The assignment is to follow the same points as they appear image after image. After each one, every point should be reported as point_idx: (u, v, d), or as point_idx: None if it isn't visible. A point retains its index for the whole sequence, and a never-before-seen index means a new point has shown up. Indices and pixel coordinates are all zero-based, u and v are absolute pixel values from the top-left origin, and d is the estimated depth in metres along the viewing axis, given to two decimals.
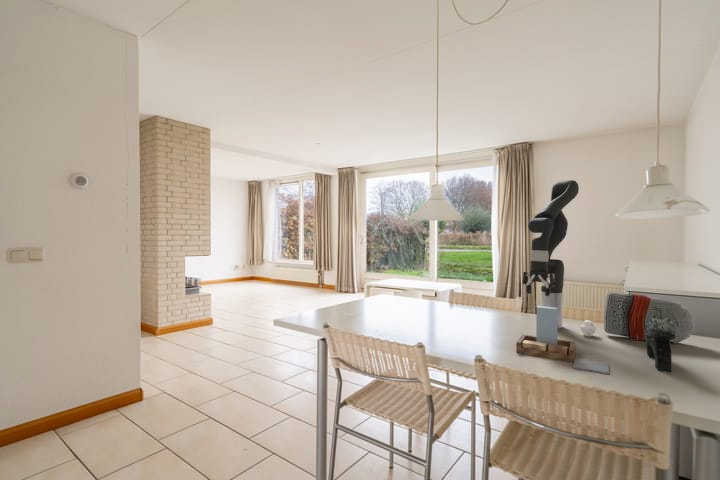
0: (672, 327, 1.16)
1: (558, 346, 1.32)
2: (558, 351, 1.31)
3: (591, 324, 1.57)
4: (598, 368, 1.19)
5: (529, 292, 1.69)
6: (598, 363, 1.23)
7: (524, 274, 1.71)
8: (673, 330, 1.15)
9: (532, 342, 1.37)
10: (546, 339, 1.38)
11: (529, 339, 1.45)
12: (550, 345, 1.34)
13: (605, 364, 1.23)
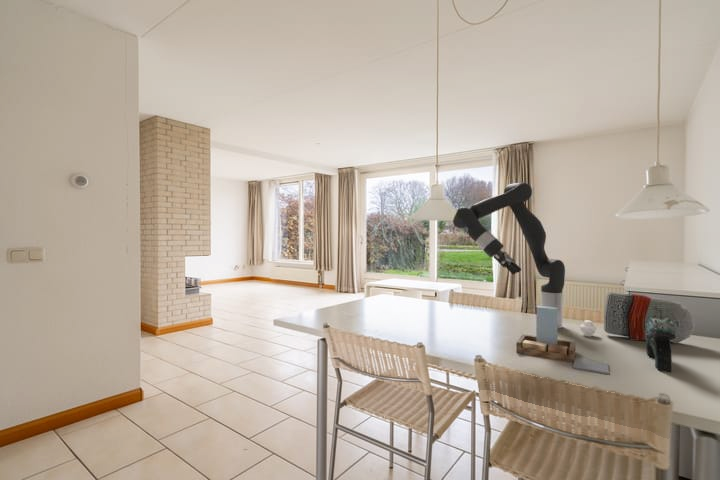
0: (672, 327, 1.16)
1: (558, 346, 1.32)
2: (558, 351, 1.31)
3: (591, 324, 1.57)
4: (598, 368, 1.19)
5: (517, 270, 1.50)
6: (598, 363, 1.23)
7: None
8: (673, 330, 1.15)
9: (532, 342, 1.37)
10: (546, 339, 1.38)
11: (529, 339, 1.45)
12: (550, 345, 1.34)
13: (605, 364, 1.23)
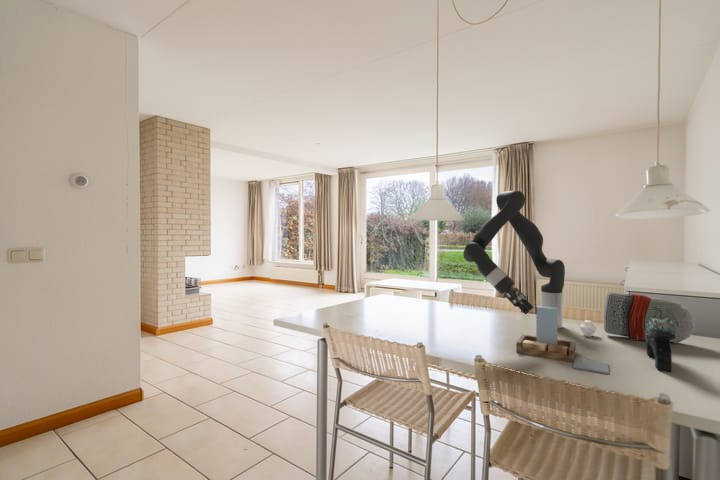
0: (672, 327, 1.16)
1: (558, 346, 1.32)
2: (558, 351, 1.31)
3: (591, 324, 1.57)
4: (598, 368, 1.19)
5: (529, 308, 1.46)
6: (598, 363, 1.23)
7: None
8: (673, 330, 1.15)
9: (532, 342, 1.37)
10: (546, 339, 1.38)
11: (529, 339, 1.45)
12: (550, 345, 1.34)
13: (605, 364, 1.23)
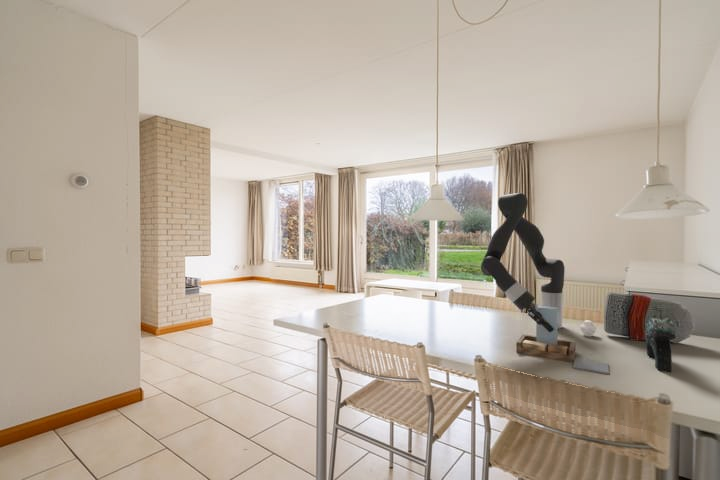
0: (672, 327, 1.16)
1: (558, 346, 1.32)
2: (558, 351, 1.31)
3: (591, 324, 1.57)
4: (598, 368, 1.19)
5: None
6: (598, 363, 1.23)
7: None
8: (673, 330, 1.15)
9: (532, 342, 1.38)
10: (546, 339, 1.38)
11: (529, 339, 1.45)
12: (550, 345, 1.34)
13: (605, 364, 1.23)
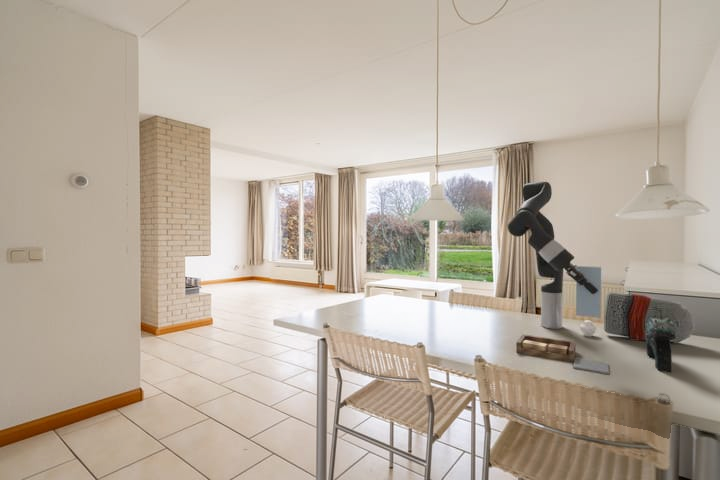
0: (672, 327, 1.16)
1: (558, 346, 1.32)
2: (558, 351, 1.31)
3: (591, 324, 1.57)
4: (598, 368, 1.19)
5: None
6: (598, 363, 1.23)
7: None
8: (673, 330, 1.15)
9: (532, 342, 1.37)
10: (588, 303, 1.21)
11: (529, 339, 1.45)
12: (550, 345, 1.34)
13: (605, 364, 1.23)
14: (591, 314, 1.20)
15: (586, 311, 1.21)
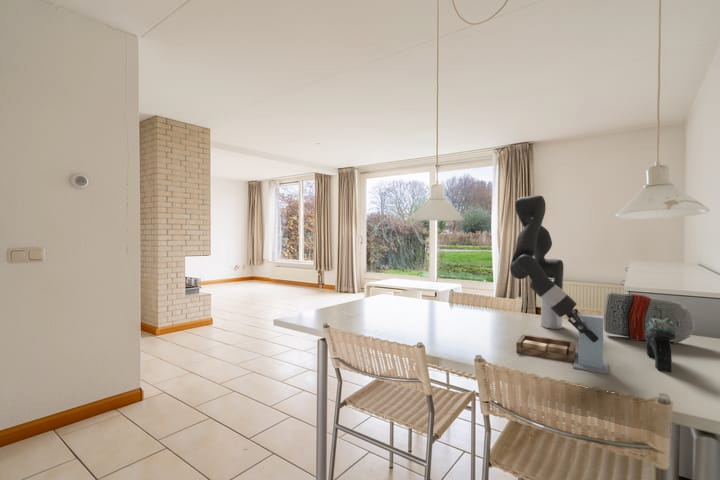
0: (672, 327, 1.16)
1: (558, 346, 1.32)
2: (558, 351, 1.31)
3: None
4: (598, 368, 1.19)
5: None
6: None
7: None
8: (673, 330, 1.15)
9: (533, 342, 1.37)
10: (590, 353, 1.21)
11: (529, 339, 1.45)
12: (550, 345, 1.34)
13: (605, 364, 1.23)
14: (593, 364, 1.20)
15: (588, 361, 1.21)
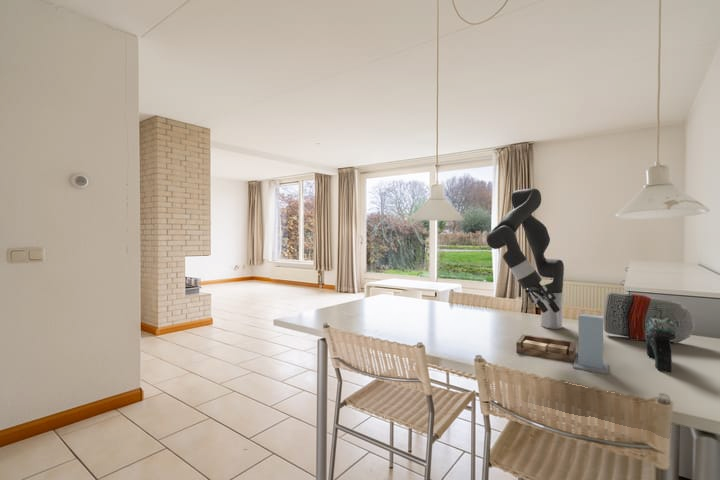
0: (672, 327, 1.16)
1: (558, 346, 1.32)
2: (557, 351, 1.31)
3: None
4: (598, 368, 1.19)
5: (544, 310, 1.35)
6: None
7: (526, 293, 1.39)
8: (673, 330, 1.15)
9: (533, 342, 1.37)
10: (590, 353, 1.21)
11: (529, 339, 1.45)
12: (550, 345, 1.34)
13: (605, 364, 1.23)
14: (593, 364, 1.20)
15: (588, 361, 1.21)
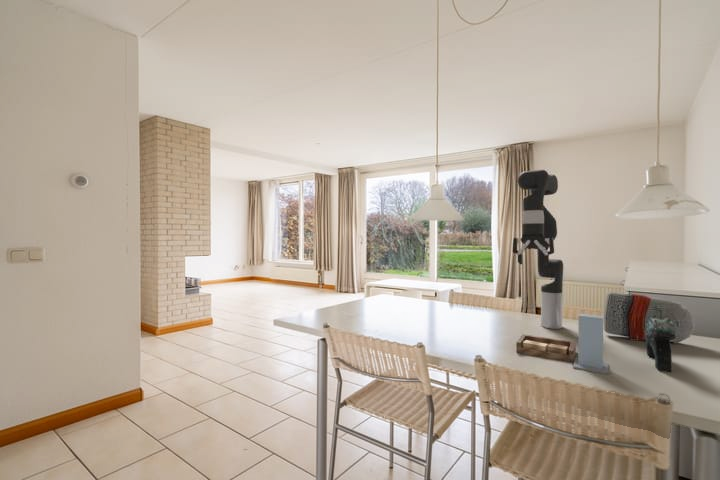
0: (672, 327, 1.16)
1: (558, 346, 1.32)
2: (557, 351, 1.31)
3: None
4: (598, 368, 1.19)
5: (521, 262, 1.38)
6: None
7: (514, 241, 1.39)
8: (673, 330, 1.15)
9: (533, 342, 1.37)
10: (590, 353, 1.21)
11: (529, 339, 1.45)
12: (550, 345, 1.34)
13: (605, 364, 1.23)
14: (593, 364, 1.20)
15: (588, 361, 1.21)
